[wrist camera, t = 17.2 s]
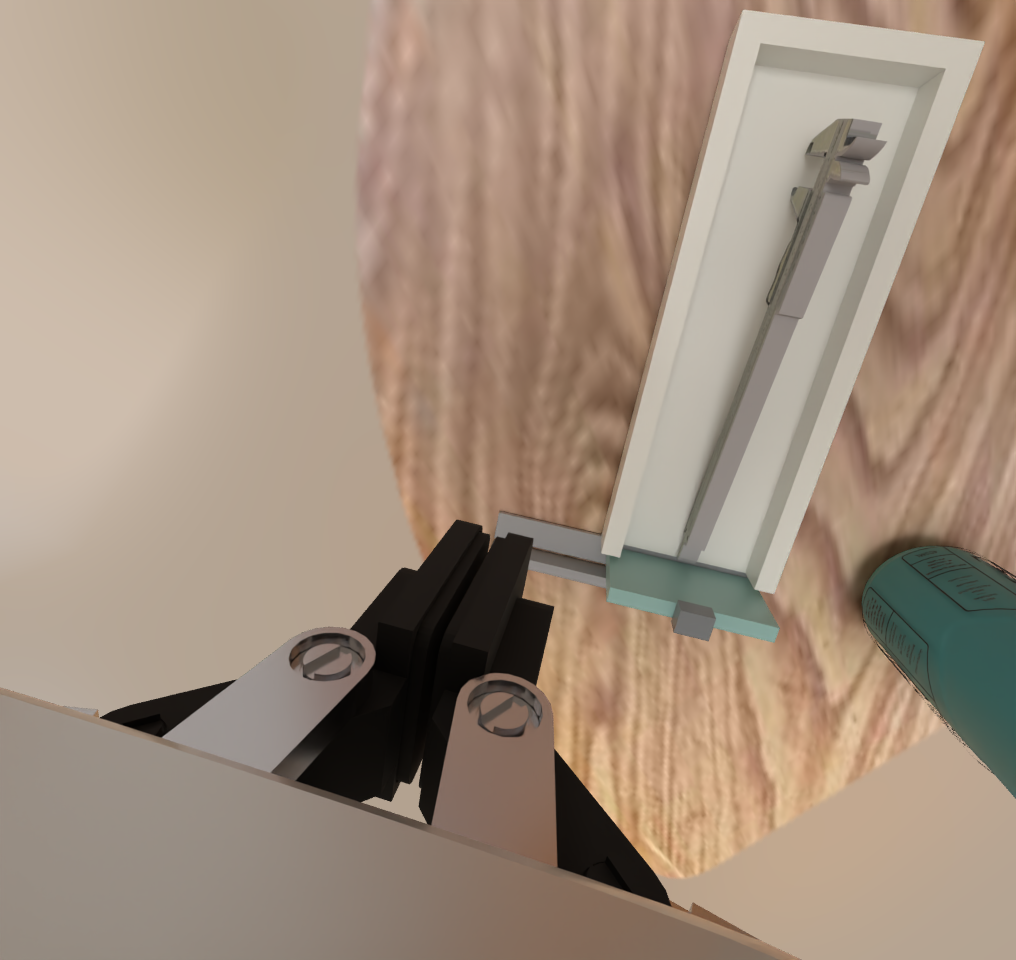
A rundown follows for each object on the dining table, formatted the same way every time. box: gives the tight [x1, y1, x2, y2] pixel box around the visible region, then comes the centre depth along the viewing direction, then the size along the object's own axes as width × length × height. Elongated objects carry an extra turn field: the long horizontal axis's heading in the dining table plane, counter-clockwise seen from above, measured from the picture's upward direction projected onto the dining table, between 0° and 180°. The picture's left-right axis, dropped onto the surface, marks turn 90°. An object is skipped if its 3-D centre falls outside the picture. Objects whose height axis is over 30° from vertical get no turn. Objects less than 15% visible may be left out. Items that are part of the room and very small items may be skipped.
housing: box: [493, 10, 985, 594], centre depth 27 cm, size 15×26×2 cm, turn 169°
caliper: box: [677, 119, 887, 563], centre depth 24 cm, size 20×1×6 cm, turn 169°
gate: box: [606, 549, 780, 642], centre depth 28 cm, size 8×1×6 cm, turn 79°
